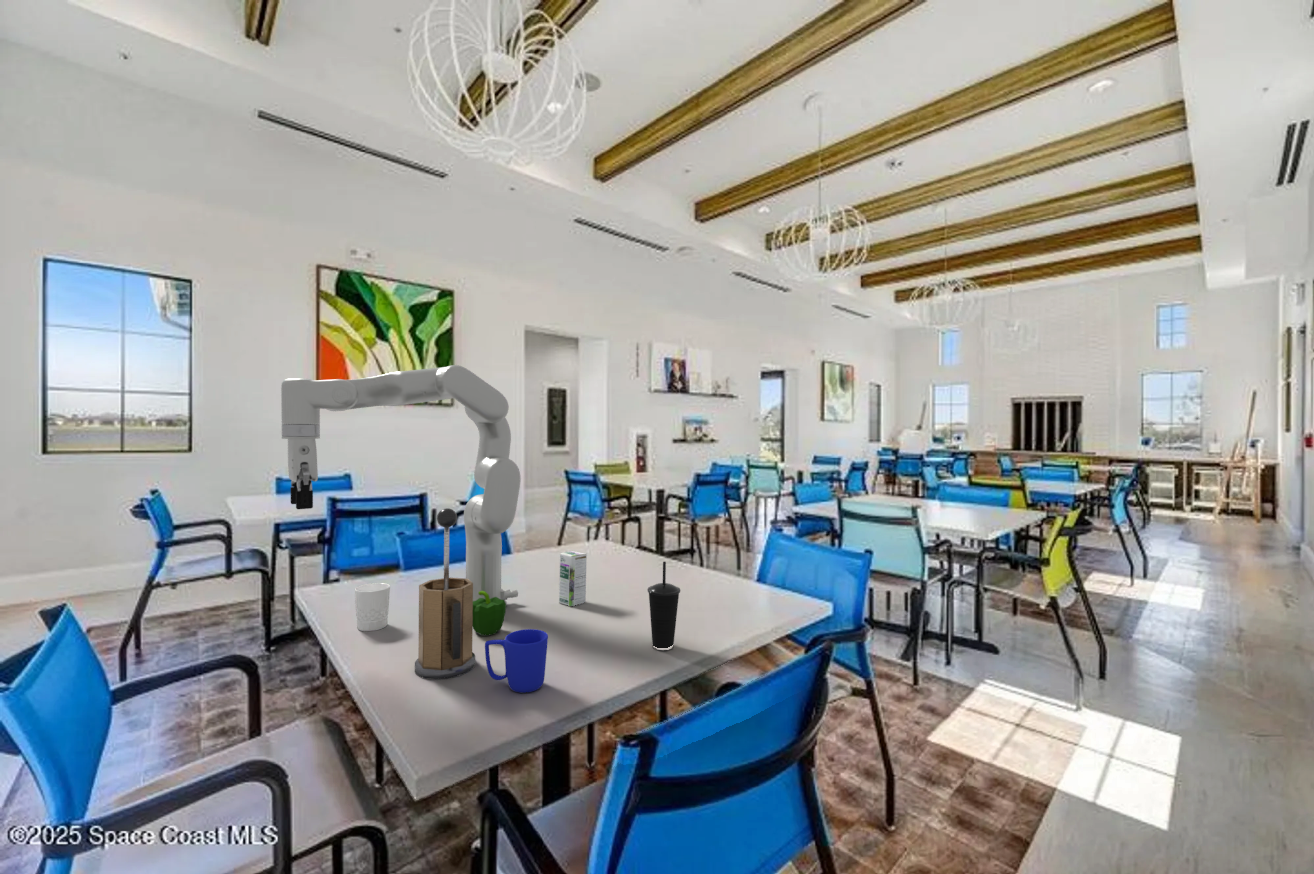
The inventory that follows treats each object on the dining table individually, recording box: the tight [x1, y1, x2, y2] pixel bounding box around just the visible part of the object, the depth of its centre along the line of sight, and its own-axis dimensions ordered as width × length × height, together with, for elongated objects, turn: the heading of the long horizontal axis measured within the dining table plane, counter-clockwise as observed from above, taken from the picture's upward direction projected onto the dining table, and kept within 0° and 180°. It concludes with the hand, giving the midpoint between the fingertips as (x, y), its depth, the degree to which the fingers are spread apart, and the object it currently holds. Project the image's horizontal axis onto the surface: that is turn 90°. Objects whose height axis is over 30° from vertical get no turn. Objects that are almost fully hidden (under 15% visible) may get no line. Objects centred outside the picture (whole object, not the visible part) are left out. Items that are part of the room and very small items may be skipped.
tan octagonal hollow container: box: [414, 576, 476, 680], centre depth 119 cm, size 12×14×18 cm
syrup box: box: [558, 550, 588, 607], centre depth 165 cm, size 6×6×14 cm
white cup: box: [354, 582, 391, 632], centre depth 143 cm, size 8×8×10 cm
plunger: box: [436, 507, 458, 590], centre depth 120 cm, size 8×8×19 cm
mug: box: [484, 628, 549, 694], centre depth 111 cm, size 8×12×10 cm
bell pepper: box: [473, 591, 507, 636], centre depth 141 cm, size 8×8×10 cm
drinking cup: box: [647, 561, 681, 648], centre depth 133 cm, size 8×8×20 cm
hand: (301, 506), depth 132 cm, fingers open, 9 cm apart
